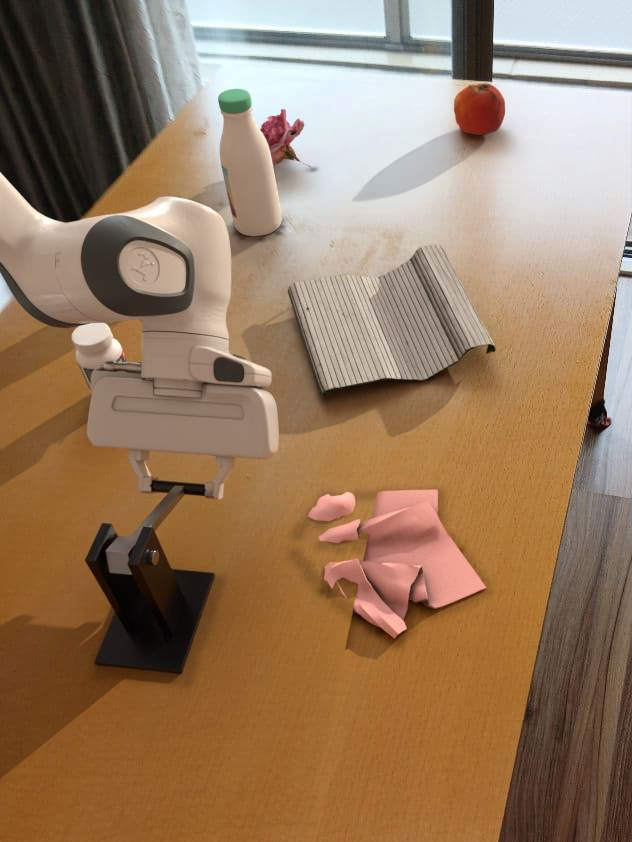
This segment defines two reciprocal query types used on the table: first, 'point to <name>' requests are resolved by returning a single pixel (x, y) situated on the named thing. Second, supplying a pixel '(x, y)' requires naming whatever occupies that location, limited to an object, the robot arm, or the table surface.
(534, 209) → the table surface
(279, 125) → the flower
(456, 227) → the table surface
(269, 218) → the milk bottle
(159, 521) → the lever
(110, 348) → the pill bottle
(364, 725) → the table surface
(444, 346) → the mat
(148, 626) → the bracket
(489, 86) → the red round fruit
